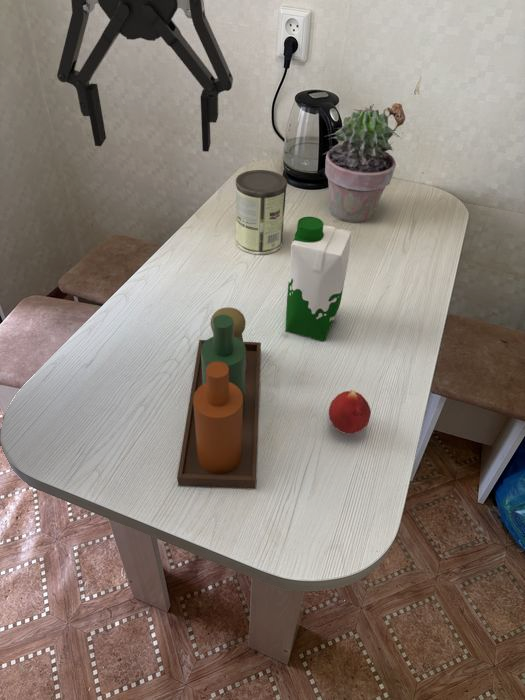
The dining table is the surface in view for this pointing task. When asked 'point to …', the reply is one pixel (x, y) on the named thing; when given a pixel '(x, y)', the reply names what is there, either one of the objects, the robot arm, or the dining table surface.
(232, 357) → the green bottle
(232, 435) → the amber bottle
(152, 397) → the dining table surface
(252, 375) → the tray
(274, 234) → the coffee can
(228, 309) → the cork
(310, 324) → the milk carton
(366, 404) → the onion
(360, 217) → the potted plant
